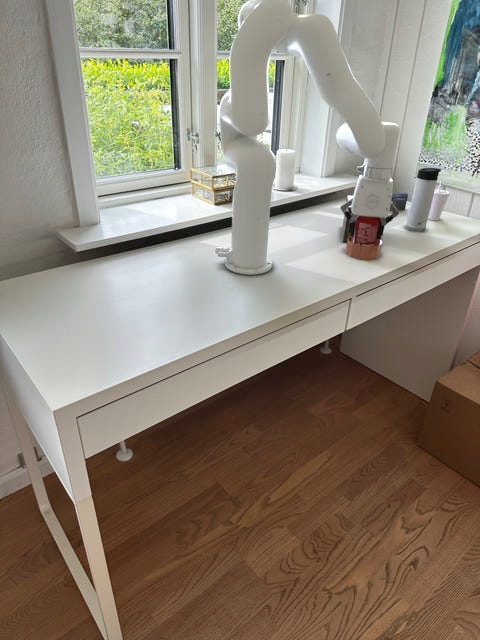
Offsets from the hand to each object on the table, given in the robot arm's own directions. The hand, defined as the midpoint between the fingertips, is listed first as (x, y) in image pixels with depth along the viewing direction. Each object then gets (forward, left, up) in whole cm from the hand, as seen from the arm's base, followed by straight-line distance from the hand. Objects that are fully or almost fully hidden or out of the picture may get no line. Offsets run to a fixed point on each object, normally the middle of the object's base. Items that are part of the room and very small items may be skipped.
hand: (364, 235), depth 134 cm
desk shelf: (0, +14, -5) cm, 15 cm away
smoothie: (+27, +40, -6) cm, 49 cm away
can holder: (0, 0, -5) cm, 5 cm away
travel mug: (+19, +27, -6) cm, 34 cm away
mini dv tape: (+14, +47, -6) cm, 50 cm away
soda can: (0, 0, -5) cm, 5 cm away
